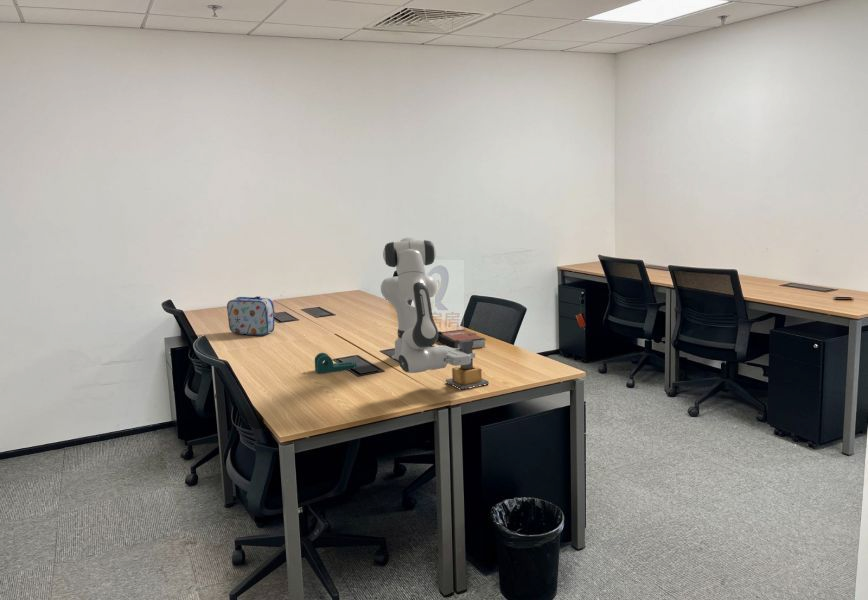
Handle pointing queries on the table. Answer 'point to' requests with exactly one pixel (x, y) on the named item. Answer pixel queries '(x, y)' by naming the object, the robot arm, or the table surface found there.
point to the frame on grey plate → (466, 378)
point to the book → (460, 338)
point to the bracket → (330, 364)
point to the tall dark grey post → (466, 348)
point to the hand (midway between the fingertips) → (468, 352)
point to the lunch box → (251, 315)
